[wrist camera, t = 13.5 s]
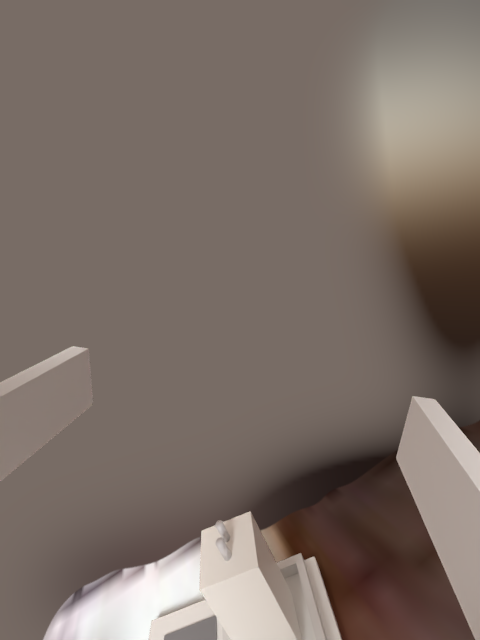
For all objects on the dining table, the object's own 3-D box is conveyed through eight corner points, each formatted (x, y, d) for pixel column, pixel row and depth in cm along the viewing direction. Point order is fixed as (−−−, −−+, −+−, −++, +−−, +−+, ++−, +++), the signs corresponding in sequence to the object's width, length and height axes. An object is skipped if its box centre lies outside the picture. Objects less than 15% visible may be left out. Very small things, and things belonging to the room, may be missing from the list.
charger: (291, 591, 32) (243, 495, 28) (305, 655, 27) (250, 550, 23) (247, 608, 32) (193, 515, 28) (253, 676, 27) (189, 575, 23)
